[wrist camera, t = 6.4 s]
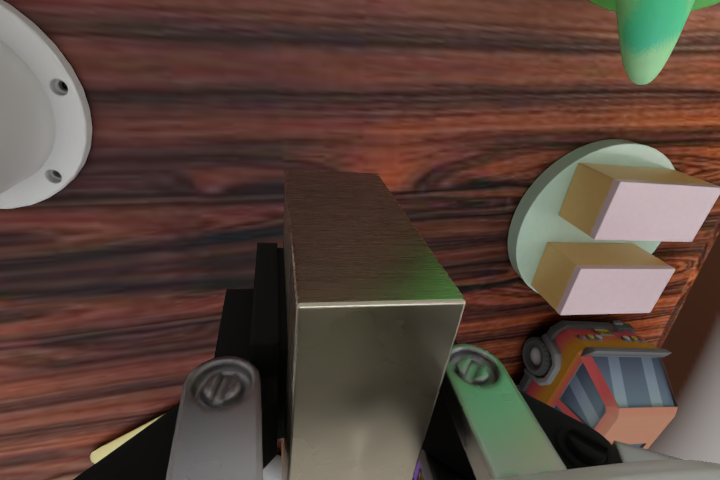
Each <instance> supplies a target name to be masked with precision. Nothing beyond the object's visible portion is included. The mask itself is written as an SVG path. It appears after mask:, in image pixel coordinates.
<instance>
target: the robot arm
mask: <svg viewBox="0 0 720 480" xmlns="http://www.w3.org/2000/svg"><path fill="white" fill-rule="evenodd" d="M62 81H63V82H64V83H65V84H66V85H67V88H68V90H66V89H65V88H64V87H63V86H62ZM91 139H92V122H91V113H90V108H89V105H88V102H87V99H86V96H85V93H84V90H83V87H82V85H81V83H80V81H79V80H78V78H77V76H76V74H75V72H74V70H73V68H72V66H71V65H70V64H69V62H68V61H67V60H66V58H65V57H64V56H63V54H62V53H61V51H60V50H59V49H58V47H57V46H56V45H55V44H54V43H53V42H52V41H51V40H50V39H49V38H48V37H47V36H46V35H45V34H44V32H43V31H42V30H41V29H40V28H39V27H38V26H37V25H36V24H35V23H33V22H32V21H31V20H29V19H28V18H27V17H26V16H24V15H23V14H22V13H20V12H19V11H18V10H17V9H15V8H14V7H13V6H11V5H10V4H8V3H7V2H5V1H3V0H0V209H13V208H18V207H23V206H28V205H33V204H35V203H38V202H40V201H43V200H45V199H48V198H50V197H51V196H53V195H54V194H56V193H57V192H59V191H60V190H62V189H63V188H64V187H65V186H66V185H68V184H69V183H70V182H71V181H72V180H73V179H74V178H76V176H77V175H78V173H79V172H80V170H81V169H82V167H83V166H84V164H85V162H86V159H87V157H88V154H89V151H90V148H91ZM57 172H59V173H60V174H58V173H57ZM287 346H288V340H287V313H286V289H285V266H284V248H277V243H257V255H256V268H255V282H254V289H227V291H226V295H225V301H224V306H223V312H222V318H221V323H220V329H219V334H218V340H217V346H216V351H215V357H214V358H213V359H211V360H208V361H206V362H204V363H202V364H201V365H199V366H198V367H196V368H195V369H194V370H193V371H192V372H191V373H190V374H189V375H188V377H187V378H186V380H185V383H184V385H183V389H182V394H181V400H180V403H179V404H178V405H177V406H175V407H174V408H172V409H171V410H170V411H168V412H167V413H165V414H164V415H163V416H161V417H160V418H158V419H157V420H156V421H154V422H153V423H151V424H150V425H149V426H147V427H146V428H145V429H143V430H142V431H140V432H139V433H138V434H136V435H135V436H133V437H132V438H131V439H129V440H128V441H126V442H125V443H124V444H122V445H121V446H119V447H118V448H117V449H115V450H114V451H112V452H111V453H110V454H108V455H107V456H105V457H104V458H103V459H101V460H100V461H98V462H97V463H96V464H94V465H93V466H91V467H90V468H89V469H87V470H86V471H85V472H83V473H82V474H80V475H79V476H78V477H76V478H75V479H73V480H263V469H264V468H265V467H266V466H267V465H268V464H269V463H270V462H271V461H272V460H273V459H274V457H275V456H276V455H277V439H280V438H284V428H285V402H286V376H287ZM419 463H420V466H421V470H422V473H423V477H424V480H720V464H717V463H711V462H703V461H694V460H683V459H679V458H675V457H672V456H668V455H665V454H661V453H657V452H654V451H651V450H647V449H644V448H640V447H636V446H633V445H629V444H626V443H622V442H619V441H615V440H614V442H613V443H612V445H611V443H610V442H609V441H608V440H607V439H606V438H605V437H603V436H602V435H601V434H600V433H599V432H597V431H596V430H594V429H592V428H591V427H589V426H587V425H586V424H584V423H582V422H580V421H578V420H576V419H574V418H572V417H570V416H568V415H566V414H564V413H562V412H560V411H558V410H557V409H555V408H553V407H551V406H549V405H547V404H545V403H543V402H541V401H539V400H537V399H535V398H533V397H531V396H529V395H527V394H526V393H524V392H522V391H520V390H518V389H517V387H516V385H515V384H514V382H513V380H512V379H511V377H510V375H509V374H508V372H507V371H506V369H505V367H504V366H503V364H502V363H501V362H500V361H499V359H498V358H497V357H495V356H494V355H493V354H492V353H490V352H489V351H487V350H485V349H483V348H481V347H478V346H475V345H471V344H457V342H456V341H455V340H454V344H453V347H452V350H451V354H450V357H449V360H448V364H447V367H446V370H445V373H444V377H443V380H442V383H441V387H440V390H439V393H438V397H437V400H436V403H435V406H434V410H433V413H432V416H431V420H430V423H429V426H428V430H427V433H426V436H425V440H424V443H423V446H422V449H421V453H420V456H419Z"/></svg>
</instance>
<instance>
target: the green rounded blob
mask: <svg viewBox="0 0 720 480" xmlns="http://www.w3.org/2000/svg"><path fill="white" fill-rule="evenodd" d="M588 1H590V2H592V3H594V4H595V5H598V6H600V7H602V8H605V9H607V10H610V11H614V12H616V14H617V25H618V35H619V43H620V50H621V56H622V61H623V65H624V68H625V71H626V73H627V76H628V77H629V79H630V80H631V81H632V82H633V83H635V84H638V85H644V84H647V83H649V82H651V81H652V80H653V79H654V78H655V77H656V76H657V75H658V74H659V72H660V71H661V70H662V68H663V67H664V65H665V63H666V62H667V60H668V58H669V56H670V54H671V52H672V50H673V48H674V46H675V44H676V42H677V40H678V38H679V36H680V34H681V31H682V29H683V27H684V25H685V23H686V20H687V18H688V16H689V13H690V11H692V10H697V9H700V8H704V7H708V6H711V5H714V4H717V3H720V0H588Z"/></svg>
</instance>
